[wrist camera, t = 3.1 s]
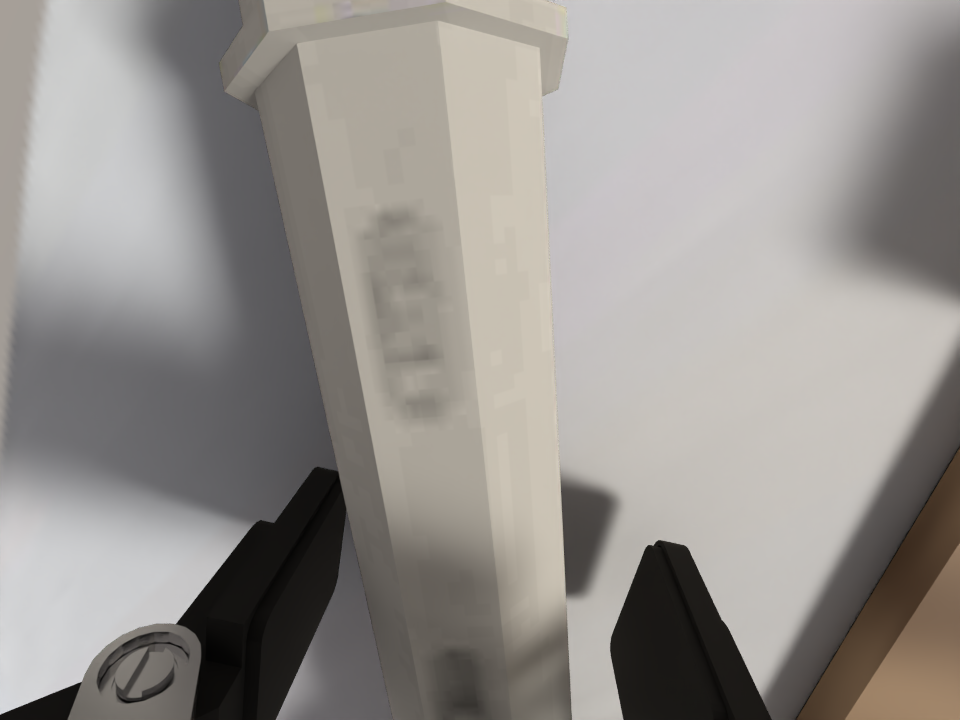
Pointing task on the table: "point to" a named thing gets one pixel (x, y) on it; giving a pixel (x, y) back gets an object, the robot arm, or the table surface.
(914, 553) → the v block cradle
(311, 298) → the white electric toothbrush
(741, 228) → the table surface
